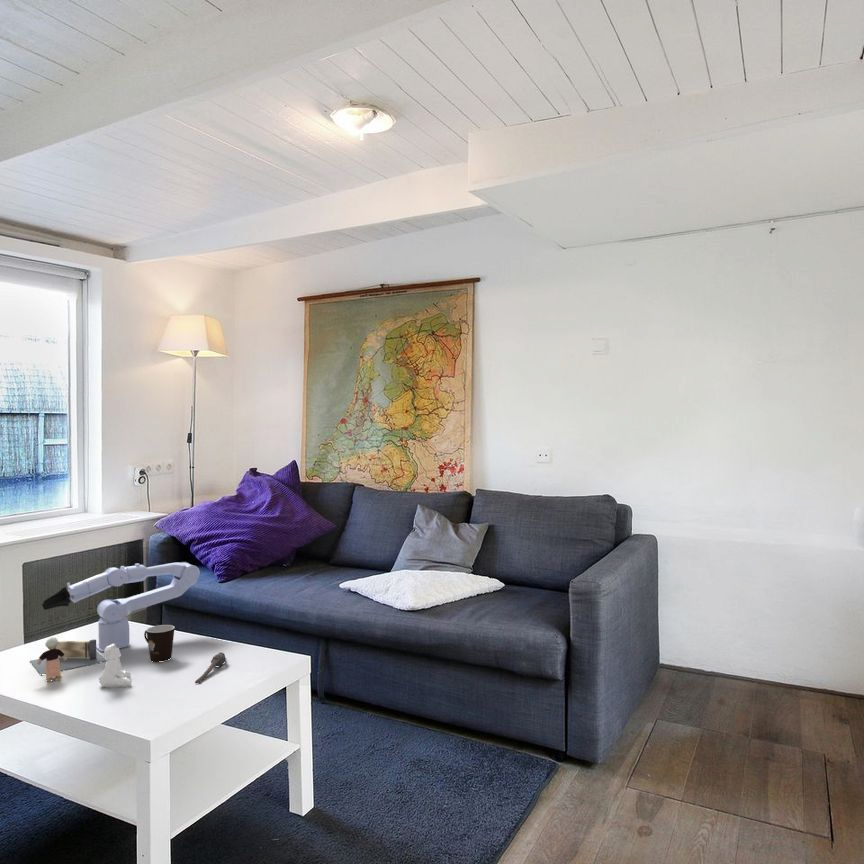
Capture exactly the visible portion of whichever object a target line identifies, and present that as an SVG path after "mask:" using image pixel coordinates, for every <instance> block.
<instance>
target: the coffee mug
mask: <svg viewBox="0 0 864 864" xmlns="http://www.w3.org/2000/svg"><path fill="white" fill-rule="evenodd" d="M174 635H175V626H174V625H171V624H160V625H153V626H151V627H148V628H147V629H146V630H145V631H144V634H143V637H144V640H145V641H146V643H147V645H148V653H149V659H150V660H151V661H153V662H152V663H160V662H159V661H165V660H168V659H170V658H171V659H172V654H173V647H174V646H173V644H174ZM171 659H170V660H171ZM150 660H149V661H150ZM151 661H150V662H151ZM168 661H169V660H168ZM165 662H166V661H165Z"/></svg>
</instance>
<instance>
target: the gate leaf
mask: <svg viewBox="0 0 864 864" xmlns="http://www.w3.org/2000/svg"><path fill="white" fill-rule="evenodd" d="M57 644H58V645H57V646H56V648H55V649H59V650H61V651H62V652H63V653H64V655H65V657H70V658H89V657H90V640H88V641H87V640H81V641H80V640H78V641H77V640H76V641H75V640H58V643H57ZM58 657H60V656H58Z"/></svg>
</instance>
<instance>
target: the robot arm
mask: <svg viewBox="0 0 864 864" xmlns="http://www.w3.org/2000/svg"><path fill="white" fill-rule="evenodd" d="M200 571H201V570H200V569H199V567H198V566H197V565H193V564H190V563H189V562H187V561H181V562H171V563H170V562H169V563H164V564H158V565H154V566H148V567H146V566H145V565H144V564H140V563H134V565H131V566H129V565H128V566H124V565H121V566H120V567H119V568H117V567H107V569H106V570H105V571H104V572H102V573H98V574H96V575H93V576H91V577H88V578H86V579H83V580H81V581H79V582H76V583H74V584H71V582H67V583H66V585H67V587H66V586H63V587H62V588H61V589H60V590H59V591H57V592H56V593H54V594H53V595H51V596H49V597H48V598H46V599H45V600H43V603H41V606H42V608H43V610H44V611H45V610H51V609H54V608H59V607H69V605H70V604H71V601H72V602H73V603H74V604H75V603H78V601H81V600H83V599H87V598H88V597H91V596H93V595H96V594H97V593H100V592H103V591H105V590H106V589H109V588H111V587H121V586H123V584H130V583H138V582H144V581H145V580H146V578H147V579H148V578H149V577H157V576H164V575H165V576H166V575H167V576H168V575H170V576H171V575H172V576H173V579H172V580H171V582H170V584H168V585H165V586H161V587H158V588H155V589H152V590H149V591H145V592H142V593H140V594H139V593H138V594H136V595H135V594H134V595H132V596H129V597H126V598H125V597H124V598H117V599H104V600H102V601H101V602H100V603H99V604H98V605H97V608H96V611H97V615H98V616H99V619H98V621H97V622H98V624H97V625H98V626H97V627H98V644H96V650H98V651H99V652H103V653H104V650H105V648H106V647H107V646H110V644H115V646H116V648H119V649H122V648H127V646H128V647H131V644H130V624H129V623H130V622H129V619H127V618H124V617H127V616H128V615H129V614H130V613H132V612H135V611H138V610H142V609H144V608H149V607H151V606H154V605H157V604H160V603H163V602H166V601H170V600H173V599H176V598H179V597H181V596H182V595H183V594H184V593H185V592H187V591H188V590H189V589H190V588H191V587H192V586H194V585H196V584H197V581H198V580H199V577H200V574H201V572H200Z"/></svg>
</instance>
